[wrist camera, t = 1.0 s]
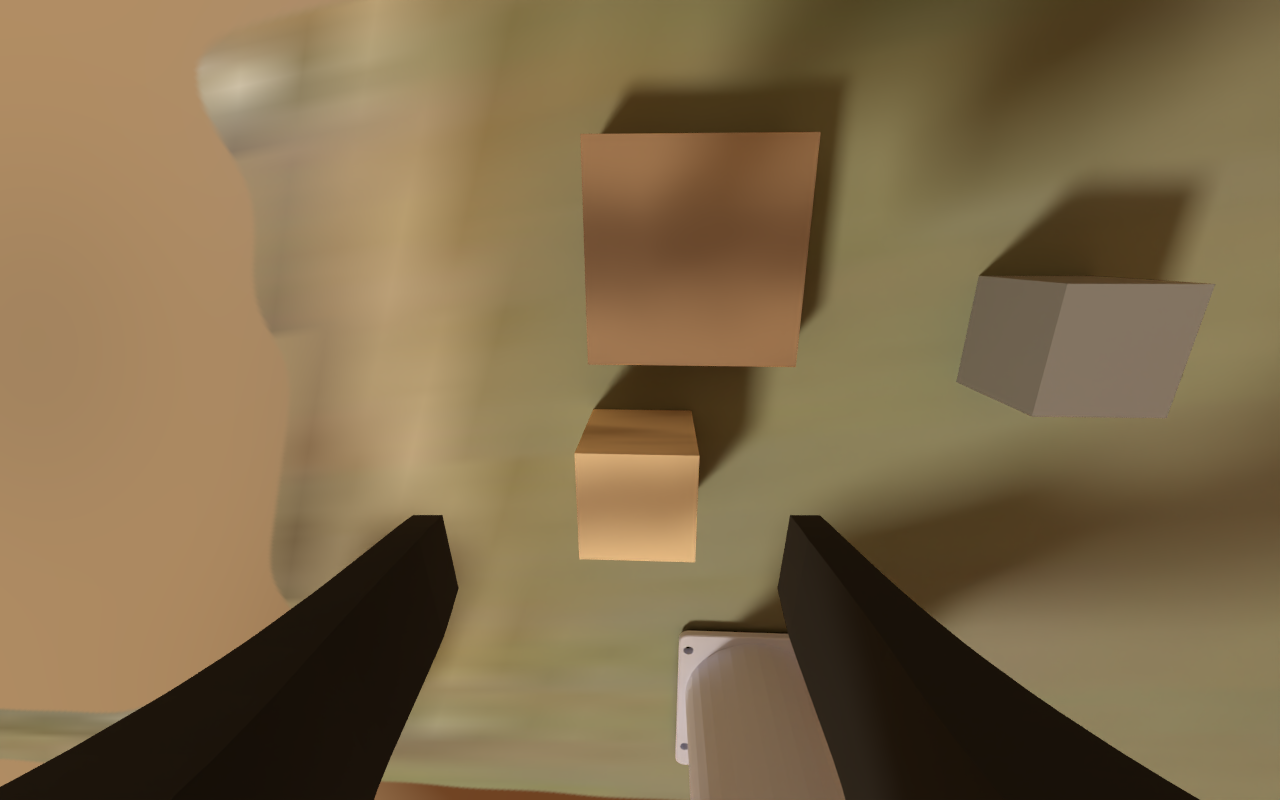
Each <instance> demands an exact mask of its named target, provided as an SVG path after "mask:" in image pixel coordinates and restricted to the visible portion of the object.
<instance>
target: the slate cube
mask: <svg viewBox="0 0 1280 800" xmlns="http://www.w3.org/2000/svg"><path fill="white" fill-rule="evenodd" d="M1214 286H1215V284H1207V283H1192V282H1177V281H1162V280H1147V279H1132V278H1117V277H1102V276H979V278H978V283H977V287H976V292H975V297H974V301H973V306H972V311H971V316H970V320H969V325H968V330H967V334H966V339H965V344H964V348H963V353H962V358H961V363H960V367H959V372H958V377H957V381H956V382H958V383H960V384H962V385H964V386H966V387H968V388H971V389H973V390H975V391H977V392H979V393H982V394H984V395H986V396H988V397H990V398H993V399H995V400H997V401H999V402H1001V403H1004V404H1006V405H1008V406H1010V407H1012V408H1015V409H1017V410H1019V411H1021V412H1023V413H1026V414H1028V415H1030V416H1040V417H1119V418H1167V416H1168V413H1169V410H1170V407H1171V405H1172V402H1173V399H1174V396H1175V394H1176V391H1177V388H1178V385H1179V383H1180V380H1181V377H1182V374H1183V372H1184V369H1185V366H1186V363H1187V361H1188V358H1189V355H1190V352H1191V350H1192V347H1193V344H1194V341H1195V338H1196V336H1197V333H1198V330H1199V327H1200V325H1201V322H1202V319H1203V316H1204V314H1205V311H1206V308H1207V305H1208V303H1209V300H1210V297H1211V294H1212V292H1213V289H1214Z"/></svg>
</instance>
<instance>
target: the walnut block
mask: <svg viewBox="0 0 1280 800" xmlns="http://www.w3.org/2000/svg"><path fill="white" fill-rule="evenodd" d="M820 133H821V132H761V133H641V134H581V163H582V193H583V223H584V254H585V284H586V315H587V345H588V364H599V365H677V366H756V367H796V359H797V349H798V340H799V331H800V321H801V312H802V302H803V293H804V284H805V274H806V265H807V255H808V246H809V237H810V227H811V218H812V209H813V199H814V190H815V180H816V171H817V162H818V152H819V143H820Z"/></svg>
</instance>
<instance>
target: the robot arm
mask: <svg viewBox="0 0 1280 800" xmlns="http://www.w3.org/2000/svg"><path fill="white" fill-rule="evenodd" d="M457 591H458V584H457V580H456V575H455V571H454V566H453V562H452V557H451V552H450V548H449V543H448V539H447V534H446V530H445V525H444V521H443V516H442V515H413V516H411V517H410V518H409V519H407V520H406V521H404V522H403V523H402V524H401V525H399V526H398V527H397V528H395V529H394V530H393V531H392V532H390V533H389V534H388V535H386V536H385V537H384V538H383V539H381V540H380V541H379V542H378V543H376V544H375V545H374V546H373V547H371V548H370V549H369V550H368V551H366V552H365V553H364V554H363V555H361V556H360V557H359V558H358V559H356V560H355V561H354V562H352V563H351V564H350V565H349V566H347V567H346V568H345V569H344V570H342V571H341V572H340V573H338V574H337V575H336V576H335V577H333V578H332V579H331V580H329V581H328V582H327V583H326V584H324V585H323V586H322V587H321V588H319V589H318V590H317V591H315V592H314V593H313V594H311V595H310V596H308V597H307V598H306V599H304V600H303V601H302V602H300V603H299V604H297V605H296V606H295V607H293V608H292V609H291V610H289V611H288V612H286V613H285V614H284V615H282V616H281V617H280V618H278V619H277V620H276V621H274V622H273V623H271V624H270V625H269V626H267V627H266V628H265V629H263V630H262V631H260V632H259V633H258V634H256V635H255V636H253V637H252V638H251V639H249V640H248V641H246V642H245V643H243V644H242V645H240V646H239V647H237V648H236V649H234V650H233V651H231V652H230V653H228V654H227V655H225V656H224V657H222V658H221V659H219V660H218V661H216V662H215V663H213V664H212V665H210V666H208V667H207V668H205V669H204V670H202V671H201V672H199V673H198V674H196V675H195V676H193V677H191V678H190V679H188V680H187V681H185V682H183V683H182V684H180V685H179V686H177V687H175V688H174V689H172V690H171V691H169V692H167V693H166V694H164V695H162V696H161V697H159V698H157V699H156V700H154V701H152V702H151V703H149V704H147V705H145V706H144V707H142V708H140V709H138V710H137V711H135V712H133V713H132V714H130V715H128V716H126V717H125V718H123V719H121V720H120V721H118V722H116V723H114V724H113V725H111V726H109V727H108V728H106V729H104V730H102V731H101V732H99V733H97V734H96V735H94V736H92V737H90V738H89V739H87V740H85V741H84V742H82V743H80V744H78V745H77V746H75V747H73V748H71V749H70V750H68V751H66V752H64V753H62V754H61V755H59V756H57V757H55V758H53V759H51V760H49V761H48V762H46V763H44V764H42V765H40V766H38V767H37V768H35V769H33V770H31V771H29V772H27V773H25V774H24V775H22V776H20V777H18V778H16V779H14V780H13V781H11V782H9V783H7V784H5V785H3V786H1V787H0V800H374V798H375V795H376V792H377V789H378V787H379V784H380V782H381V779H382V777H383V774H384V772H385V769H386V767H387V764H388V762H389V760H390V757H391V755H392V753H393V750H394V748H395V746H396V744H397V741H398V739H399V737H400V735H401V732H402V730H403V728H404V726H405V723H406V721H407V719H408V717H409V714H410V712H411V710H412V708H413V706H414V703H415V701H416V699H417V697H418V694H419V692H420V690H421V688H422V685H423V683H424V681H425V679H426V676H427V674H428V672H429V670H430V667H431V665H432V663H433V660H434V658H435V656H436V654H437V651H438V649H439V647H440V644H441V642H442V639H443V637H444V634H445V631H446V628H447V625H448V622H449V618H450V615H451V612H452V609H453V605H454V602H455V598H456V595H457ZM778 592H779V597H780V601H781V606H782V610H783V614H784V619H785V623H786V627H787V631H788V634H779V633H749V632H720V631H690V630H688V631H684V632H682V633H681V634H680V636H679V655H678V686H677V718H676V749H675V757H676V761H677V762H678V763H680V764H685V765H689V778H690V798H691V800H1199V799H1198V798H1196V797H1194V796H1192V795H1191V794H1189V793H1187V792H1186V791H1184V790H1182V789H1181V788H1179V787H1177V786H1175V785H1174V784H1172V783H1170V782H1169V781H1167V780H1165V779H1164V778H1162V777H1160V776H1159V775H1157V774H1156V773H1154V772H1152V771H1151V770H1149V769H1147V768H1146V767H1144V766H1143V765H1141V764H1139V763H1138V762H1136V761H1135V760H1133V759H1131V758H1130V757H1128V756H1126V755H1125V754H1123V753H1122V752H1120V751H1118V750H1117V749H1115V748H1114V747H1112V746H1111V745H1109V744H1108V743H1106V742H1105V741H1103V740H1101V739H1100V738H1098V737H1097V736H1095V735H1094V734H1092V733H1091V732H1089V731H1088V730H1086V729H1085V728H1083V727H1082V726H1080V725H1079V724H1077V723H1075V722H1074V721H1072V720H1071V719H1069V718H1068V717H1066V716H1065V715H1063V714H1062V713H1060V712H1059V711H1057V710H1056V709H1054V708H1053V707H1051V706H1050V705H1048V704H1047V703H1046V702H1044V701H1043V700H1041V699H1040V698H1038V697H1037V696H1035V695H1034V694H1032V693H1031V692H1030V691H1028V690H1027V689H1025V688H1024V687H1023V686H1021V685H1020V684H1019V683H1017V682H1016V681H1014V680H1013V679H1012V678H1010V677H1009V676H1008V675H1006V674H1005V673H1003V672H1002V671H1001V670H999V669H998V668H997V667H995V666H994V665H992V664H991V663H990V662H988V661H987V660H986V659H984V658H983V657H982V656H980V655H979V654H978V653H976V652H975V651H974V650H973V649H971V648H970V647H969V646H967V645H966V644H965V643H963V642H962V641H961V640H960V639H958V638H957V637H956V636H955V635H954V634H952V633H951V632H950V631H949V630H947V629H946V628H945V627H944V626H942V625H941V624H940V623H939V622H938V621H936V620H935V619H934V618H933V617H931V616H930V615H929V614H928V613H927V612H925V611H924V610H923V609H922V608H921V607H920V606H918V605H917V604H916V603H915V602H914V601H913V600H911V599H910V598H909V597H908V596H907V595H906V594H904V593H903V592H902V591H901V590H900V589H899V588H898V587H897V586H895V585H894V584H893V583H892V582H891V581H890V580H889V579H888V578H886V577H885V576H884V575H883V574H882V573H881V572H880V571H879V570H878V569H877V568H876V567H874V566H873V565H872V564H871V563H870V562H869V561H868V560H867V559H866V558H865V557H864V556H863V555H862V554H860V553H859V552H858V551H857V550H856V549H855V548H854V547H853V546H852V545H851V544H850V543H849V542H848V541H847V540H846V539H845V538H843V537H842V536H841V535H840V534H839V533H838V532H837V531H836V530H835V529H834V528H833V527H832V526H831V525H830V524H829V523H828V522H826V521H825V520H824V519H823V518H822V517H821V516H820V515H790V519H789V525H788V531H787V537H786V543H785V549H784V554H783V560H782V566H781V572H780V578H779V583H778ZM686 647H691V648H689V649H688V648H686Z"/></svg>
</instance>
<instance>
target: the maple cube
mask: <svg viewBox="0 0 1280 800" xmlns="http://www.w3.org/2000/svg"><path fill="white" fill-rule="evenodd" d="M575 472H576V494H577V517H578V539H579V559H600V560H634V561H669V562H695V549H696V525H697V502H698V479H699V450H698V445H697V439H696V434H695V428H694V422H693V417H692V411H684V410H618V409H593V411H592V414H591V416H590V418H589V421H588V423H587V426H586V428H585V430H584V433H583V435H582V437H581V440H580V442H579V444H578V447H577V449H576V451H575Z"/></svg>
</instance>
